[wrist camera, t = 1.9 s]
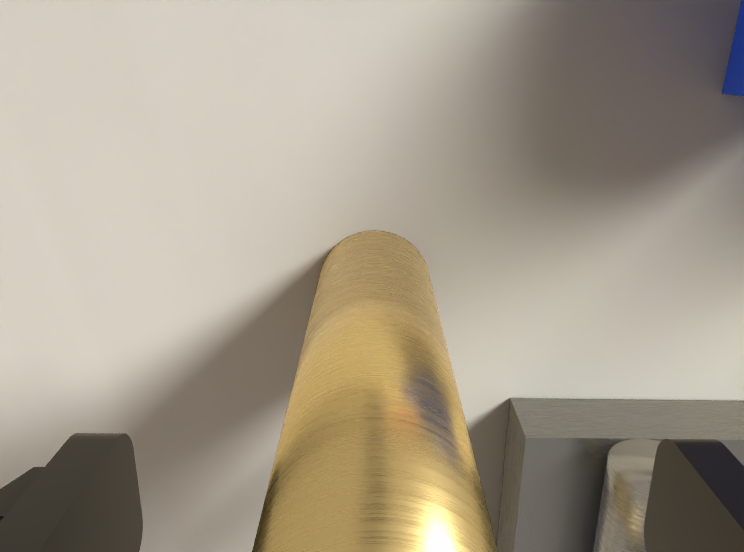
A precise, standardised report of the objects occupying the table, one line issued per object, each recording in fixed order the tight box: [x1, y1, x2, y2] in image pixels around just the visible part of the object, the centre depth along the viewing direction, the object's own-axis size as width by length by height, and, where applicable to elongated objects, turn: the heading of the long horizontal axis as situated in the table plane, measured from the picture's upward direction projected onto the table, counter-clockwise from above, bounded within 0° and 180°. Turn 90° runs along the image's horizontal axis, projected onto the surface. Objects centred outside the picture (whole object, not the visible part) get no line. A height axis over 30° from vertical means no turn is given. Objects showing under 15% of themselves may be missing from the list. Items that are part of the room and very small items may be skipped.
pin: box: [252, 231, 498, 552], centre depth 12 cm, size 3×3×12 cm
